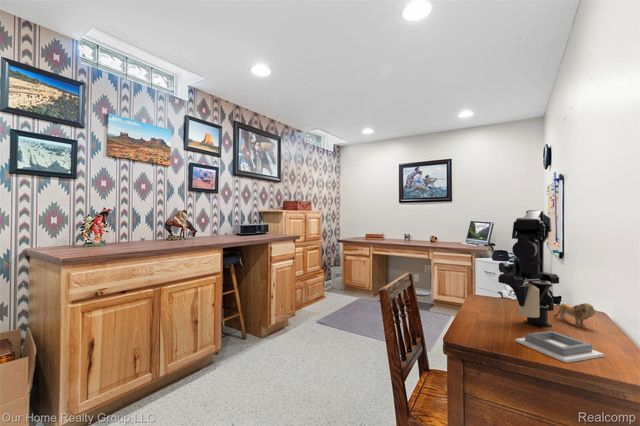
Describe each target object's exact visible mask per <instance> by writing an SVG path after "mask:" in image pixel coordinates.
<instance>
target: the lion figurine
mask: <svg viewBox="0 0 640 426" xmlns="http://www.w3.org/2000/svg"><path fill="white" fill-rule="evenodd" d="M596 313H597V310H596V308H594V306H593V305H592V304H591V303H589V302H587V303H586V302H585V303H580V304H576V305H574V306H571V305H570V304H568V303H565V302H564V303H561V304H560V305H559V310H558V313H555V314H553V317H558V316H559V315H560V316H559V317H560V321H561V322H565V320H566V317H565V315H568V316H570V317H572V318H574V321H575V327H577V328H581V327H585V326H586V324H583V323H584V321H585V320H586V321H587V320H588V319H589V318H592V317H593V316H595V314H596Z"/></svg>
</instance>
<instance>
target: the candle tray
mask: <svg viewBox="0 0 640 426" xmlns="http://www.w3.org/2000/svg"><path fill="white" fill-rule="evenodd" d="M516 342H517V343H519V344H521V345H523V346H525V347H527V348H529V349H532V350H535V351H537V352H538V353H542V354H544V355H546V356H549V357H551V358H554V359H556V360H559V361H560V362H562V363H565V364H568V363H574V362H579V361H584V360H585V361H586V360H590V359H599V358H603V357H604V353H603V352H600V351H597V350H594V349H593V345H592V344H591V343H588V342H585V341H582V340H579V339H575V338H573V337H570V336H567V335H565V334H561V333H559V332H555V331H553V330H548V331H542V332H541V331H540V332H539V331H538V332H532V333H525V334H524V337H520V338H515V343H516Z"/></svg>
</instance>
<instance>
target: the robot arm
mask: <svg viewBox="0 0 640 426" xmlns="http://www.w3.org/2000/svg"><path fill="white" fill-rule="evenodd" d="M525 212H526V213H525V216H524V217H517V218H516V219H515V220H514V221H513V223H512V234H511V239H512V240H517V241H516V242H515V243H514V244H513V246H512V248H511V250H512V253H513V255H514V257H516V258H515V259H513V263H511V264H509V263H507V262H506V261H504V262H502V261H501V262H499V263H498V271H499V273H500V274H498V279H497V280H498V283H501V284H503V285H504V284H505V285H507V286H509V287H510V288H511V290H512V291H513V293H514V295H515V297H516V300H517V304H518V303H519V305H520V306H522V307H523V306H524V304H525V300H526V296H527V292H528V288H529V286H525V283H526V282H527V283H529V284H532V285H534V286H535V287H537V288H538V289H539V317H538V318H531V317H526V320H525V319H523V322H524V323H525V324H528V325H531V326H533V327H534V326H535V327H537V328H547V327H552V326H553V324H551V323H549V322H548V319H549V318H548V317H549V316H548V315H549V314H548V313H549V312H552V311H554V309H555V308H554V298H553V297H552V294H550V291H549V289H550V288H551V287H553V285H556V284H560V277H559V275H558V274H556V273H552V272H551V273H550V272H547V271H546V272H545V269H544V267H545V266H544V265H545V264H544V263H545V262H544V261H545V260H544V259H545V258H544V257H545V251H544V250H545V248H544V247H545V243H546V241H547V240H548V239H549V237H550V233H551V232H552V222H551V218H550V217H549V216H548V215H546V214H545V213H544V210H542V209H528V210H526V211H525Z"/></svg>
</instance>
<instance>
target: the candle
mask: <svg viewBox="0 0 640 426" xmlns="http://www.w3.org/2000/svg"><path fill="white" fill-rule="evenodd" d="M525 286H529V288H528V292H527V296H526V300H525V304H524V306H523V307H522V306H520V305H519V303H518V302H517V304H518V315H520V316H522V317H526V318H527V317H531V318H538V317H539V289H538V288H537V287H535V286H534V285H532V284H529V283H528V282H527V283H526V282H525Z"/></svg>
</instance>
